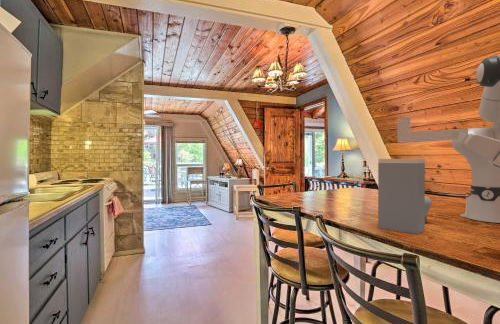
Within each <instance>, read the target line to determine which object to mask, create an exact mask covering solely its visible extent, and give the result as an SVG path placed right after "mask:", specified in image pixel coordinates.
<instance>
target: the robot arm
mask: <svg viewBox="0 0 500 324" xmlns="http://www.w3.org/2000/svg"><path fill="white" fill-rule="evenodd" d="M475 75H476V76H475V78H476V81H477V84H479V85H480V86H481V87H484V88H483V89H482V90H483V91H482V94H481V98H480V102H479V103H480V104H479V108H478V115H479V117H480V118H481V120H484V121H485V122H488V123H491V124H492V125H491V127H490V126H489V127H472V128H470V127H469V128H467V129H468V135H467V134H464V133H461V132H458V131H456V130H454V131H453V132H452V133H451V136H453V137H455V138H457V139H459V140H451V146H452V148H453V149H454V151H455V152H457V153H458V154H460V155H461V156H463V157H464V159H466V161H467V162H468V164H469V167H470V170H471V185H470V189H469V190H470V195H469V196H468V197H467V198H466V199H465V212H464V213H461V214H460V217H462V218H466V219H469V220H470V219H471V220H474V221H479V222H484V223H485V222H486V223H498V224H500V55H493V56H489V57H486V58H484V59H482V60H481V62H480V63H479V64H478V67H477V69H476V73H475Z"/></svg>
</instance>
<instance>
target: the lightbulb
mask: <svg viewBox="0 0 500 324" xmlns="http://www.w3.org/2000/svg"><path fill="white" fill-rule="evenodd" d="M432 205H433V201H432V199H431V198H430V197H429V196H427V195H425V222H427V221H428V220H427V219H428V215H429V211H430V209H431V208H432Z"/></svg>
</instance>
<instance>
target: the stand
mask: <svg viewBox="0 0 500 324" xmlns="http://www.w3.org/2000/svg"><path fill="white" fill-rule="evenodd" d="M425 160H426V159H425V158H378V160H377V161H378V162H377V164H378V165H377V167H378V170H377V172H378V173H377V174H378V177H377V179H378V181H377V183H378V184H377V186H378V187H377V189H378V190H377V193H378V195H377V198H378V199H377V201H378V202H377V203H378V204H377V205H378V206H377V207H378V208H377V209H378V210H377V213H378V214H377V215H378V218H377V219H378V221H377V223H378V224H377V226H378V227H377V228H378V229H381V230H388V231H389V230H390V231H395V232H402V233H407V234H413V235H419V234H420V233H422V232H423V231H424V230H425V228H426V227H425V226H426V225H425V224H426V223H425V222H426V221H425V196H426V193H425V192H426V190H425V188H426V186H425V185H426V184H425V183H426V180H425V179H426V177H425V176H426V175H425V173H426V171H425V169H426V168H425V167H426V161H425Z"/></svg>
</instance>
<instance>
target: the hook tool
mask: <svg viewBox="0 0 500 324" xmlns="http://www.w3.org/2000/svg"><path fill="white" fill-rule="evenodd" d="M468 129H469V128H465V127H464V128H451V129H449V128H448V129H437V130H424V131H423V130H422V131H421V130H420V131H411V117H409V116H404V117H403V116H402V117H397V143H414V142H415V143H417V142H438V141H440V142H443V141H452V140H459V139H457V138H455V137H453V136H451V133H452V132H453V131H454V130H456V131H458V132H461V133H464V134H467V135H468Z"/></svg>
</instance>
